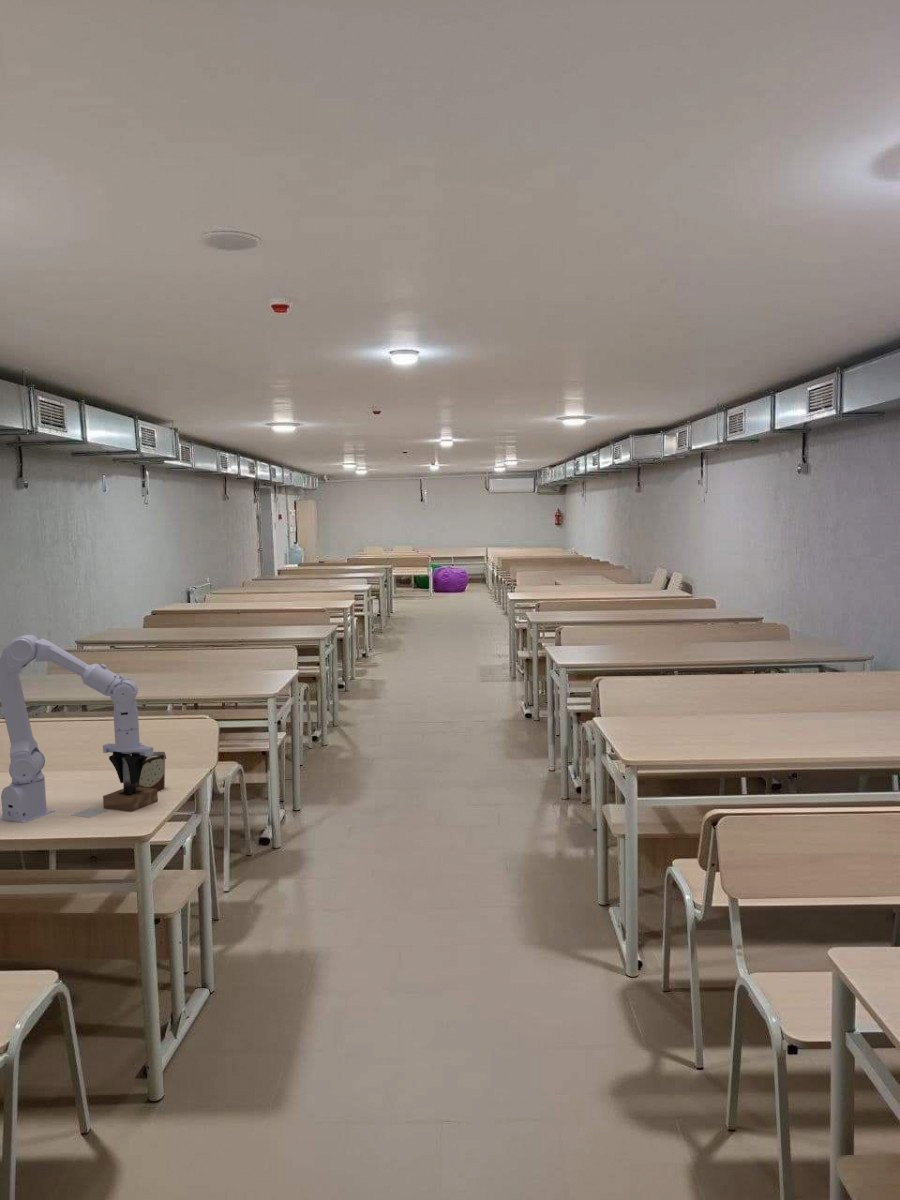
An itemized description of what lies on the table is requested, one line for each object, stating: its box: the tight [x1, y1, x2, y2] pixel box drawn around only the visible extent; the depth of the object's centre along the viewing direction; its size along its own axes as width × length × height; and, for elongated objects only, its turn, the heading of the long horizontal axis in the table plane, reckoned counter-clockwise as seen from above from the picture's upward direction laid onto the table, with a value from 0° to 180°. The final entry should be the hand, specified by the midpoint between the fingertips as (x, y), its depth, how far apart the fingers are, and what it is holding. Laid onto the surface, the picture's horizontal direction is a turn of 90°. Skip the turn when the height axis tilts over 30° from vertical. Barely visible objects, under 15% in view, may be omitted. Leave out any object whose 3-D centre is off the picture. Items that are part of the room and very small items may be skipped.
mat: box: [70, 807, 109, 819], centre depth 215 cm, size 6×6×1 cm
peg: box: [122, 755, 137, 794], centre depth 220 cm, size 3×3×9 cm
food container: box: [136, 751, 167, 793], centre depth 232 cm, size 12×6×10 cm, turn 160°
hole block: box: [102, 787, 159, 813], centre depth 221 cm, size 9×9×4 cm
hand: (129, 782), depth 221 cm, fingers closed on peg, 3 cm apart
